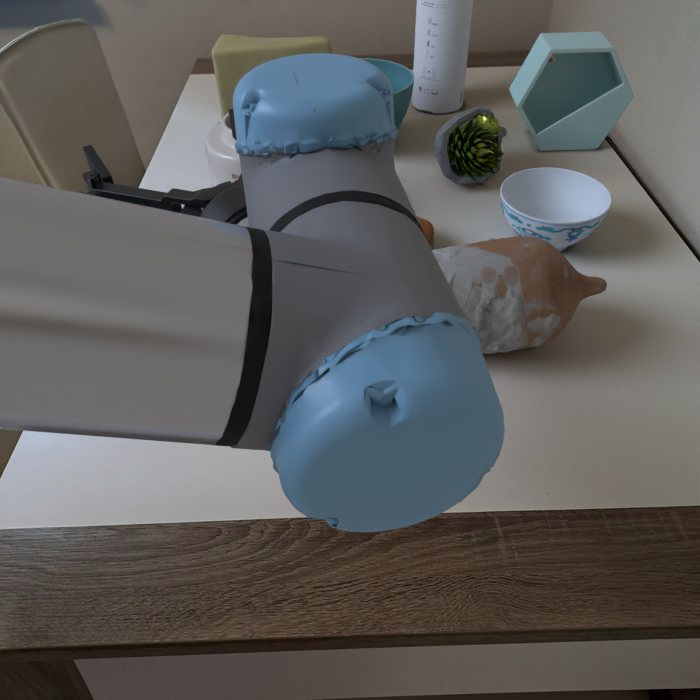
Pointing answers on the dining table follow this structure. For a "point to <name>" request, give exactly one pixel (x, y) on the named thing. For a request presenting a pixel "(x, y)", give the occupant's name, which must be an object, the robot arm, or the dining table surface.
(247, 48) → the cheese
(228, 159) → the vase
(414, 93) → the white tall cylinder
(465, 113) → the potted plant
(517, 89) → the planter
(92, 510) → the dining table surface
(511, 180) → the chinaware
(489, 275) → the amphora
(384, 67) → the plant pot
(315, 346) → the robot arm
